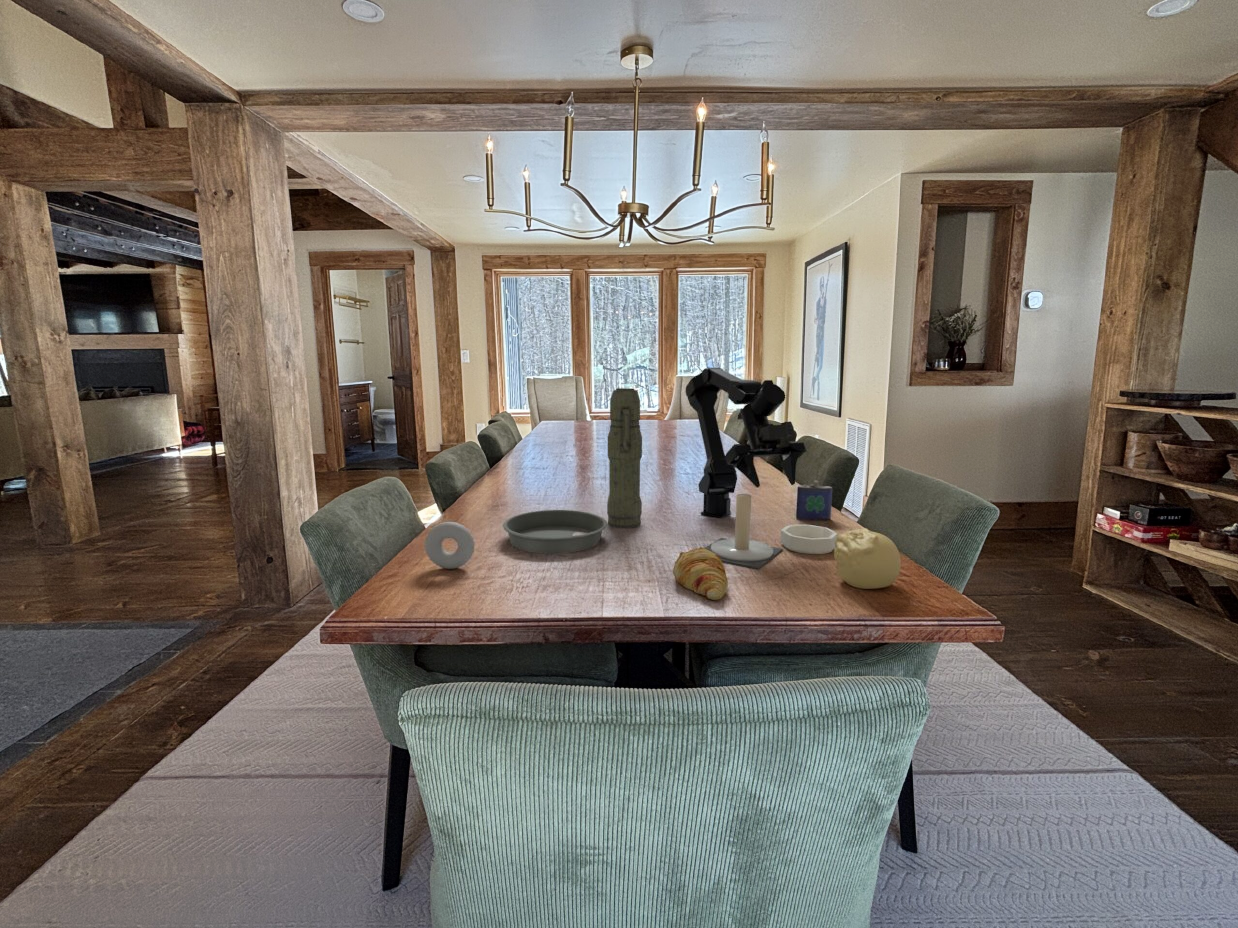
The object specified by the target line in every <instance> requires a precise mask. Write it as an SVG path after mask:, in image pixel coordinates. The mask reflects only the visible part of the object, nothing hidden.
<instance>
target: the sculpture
mask: <svg viewBox="0 0 1238 928" xmlns="http://www.w3.org/2000/svg"><path fill="white" fill-rule="evenodd" d="M833 557H834V560H835V562H836V563H835V565H834V566H835V569H836V573H837V574H838V576H839V578H840V579H841V580H843V581H844V582H845V583H847V585H849V586H850V587H851V586H852V587H854V588H855V589H856V588H857V589H863V590H865V589H866V590H867V589H868V590H870V589H881V588H887V587H890V586H891V585H893V584H894V583H895V582H896V580H897V579H898V577H899V574H900V572H901V566H902V565H901V563H902V562H901V561H902V560H901V555H900V552H899V549H898V547H897V546H896V544H895V543H894V542H893V541H892V540H891V539H890V538H889V537H887V536H886V535H884V534H881V533H879V532H875V531H871V530H869V529H868V528H867V527H864V528H860V529H855V530H847V531H845V532H843V533H842V534H841V533H840V534H838V535H837V537H836V539H835V548H834V549H833Z"/></svg>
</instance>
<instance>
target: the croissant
mask: <svg viewBox="0 0 1238 928" xmlns="http://www.w3.org/2000/svg"><path fill="white" fill-rule="evenodd" d="M703 548H704V547H699V548H694V549H691V550H688V551H680V553H679V555H678V557H677V559H676V561H675V562H674V566H673V568H672V573H673V577H674V579H675V580H676V581H677V582H678V583H679V584H680V585H682V586H683V587H684V588H686V589H687V590H690V591H692V592H694V593H696V594H698V595H701V596H702V597H703V596H706V598H707V599H709V600H713V601H717V600H721V599H722V598H723V597H724V596H725V594H726V592H727V589H728V584H729V583H728V577H727V572H726V569H725V566H724V562H721V561H722V560H721V558H720V557H718V556H717V555H716V554H714V553H713V552H711V551H708V550H706V549H703Z"/></svg>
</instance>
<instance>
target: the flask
mask: <svg viewBox="0 0 1238 928" xmlns="http://www.w3.org/2000/svg"><path fill="white" fill-rule="evenodd" d="M796 488H797V493H796V511H795V518H796V520H799V521H830V520H831V517H832V502H833V501H832V500H833V487H832V486H828V485H826V486H820V481H818V480H816V479H815V480H813V483H811V484H803V485H798V486H797V487H796Z"/></svg>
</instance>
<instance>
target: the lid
mask: <svg viewBox="0 0 1238 928" xmlns="http://www.w3.org/2000/svg"><path fill="white" fill-rule="evenodd" d="M735 502H736V503H735V523H734V524H735V526H734V527H735V528H734V538H725V539H726V540H720V541H717V540H716V541H717V542H715V541H713V542H714V543H713V542H712V543H713V544H712V543H711V544H712V545H711V552H713V553H714V554H716V555H717V556H718V557H721V558H724V559H728V560H734V561H761V560H765V559H768V558H770V557H772V555H773V548H772V547H773V546H771V545H769V544H766V543H765V542H761V541H758V540H752V539H751V537H750V536H751V535H750V534H751V515H752V514H751V512H752V511H751V510H752V495H751V494H748V493H738V494H736V498H735Z"/></svg>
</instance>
